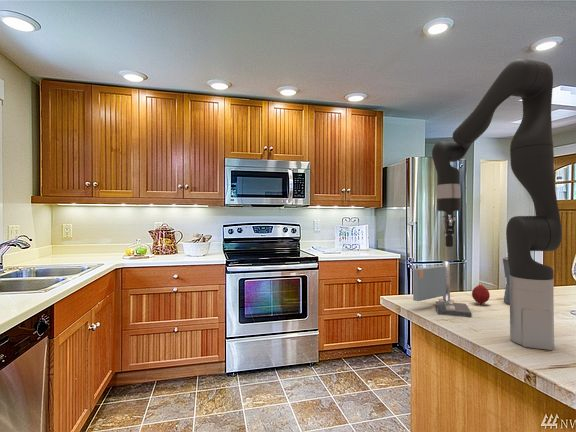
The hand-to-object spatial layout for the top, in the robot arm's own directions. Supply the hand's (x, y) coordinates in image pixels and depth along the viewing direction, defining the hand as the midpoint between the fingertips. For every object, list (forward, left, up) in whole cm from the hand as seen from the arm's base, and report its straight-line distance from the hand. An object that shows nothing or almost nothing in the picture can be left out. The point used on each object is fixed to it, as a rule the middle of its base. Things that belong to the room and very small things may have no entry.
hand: (449, 246), depth 114 cm
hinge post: (+10, 0, -23) cm, 25 cm away
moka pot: (+19, -25, -23) cm, 39 cm away
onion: (+13, -12, -23) cm, 29 cm away
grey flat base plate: (0, -1, -23) cm, 23 cm away
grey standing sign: (+2, +6, -19) cm, 20 cm away
